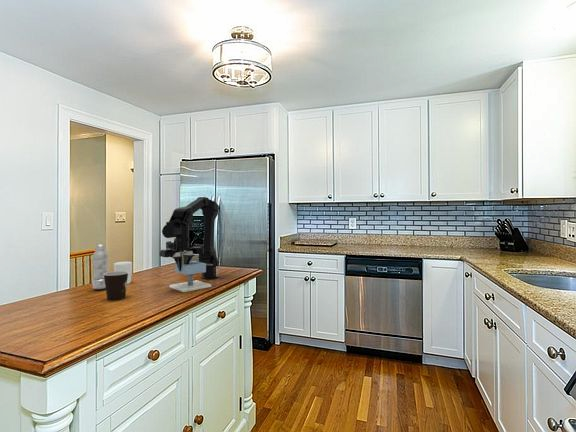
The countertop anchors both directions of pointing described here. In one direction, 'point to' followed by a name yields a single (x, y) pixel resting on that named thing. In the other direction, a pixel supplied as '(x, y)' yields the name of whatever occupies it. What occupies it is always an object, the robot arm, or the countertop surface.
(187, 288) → the white base with peg
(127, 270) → the white cup
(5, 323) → the countertop surface
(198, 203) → the robot arm
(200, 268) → the loop frame
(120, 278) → the coffee mug
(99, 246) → the plastic bottle
